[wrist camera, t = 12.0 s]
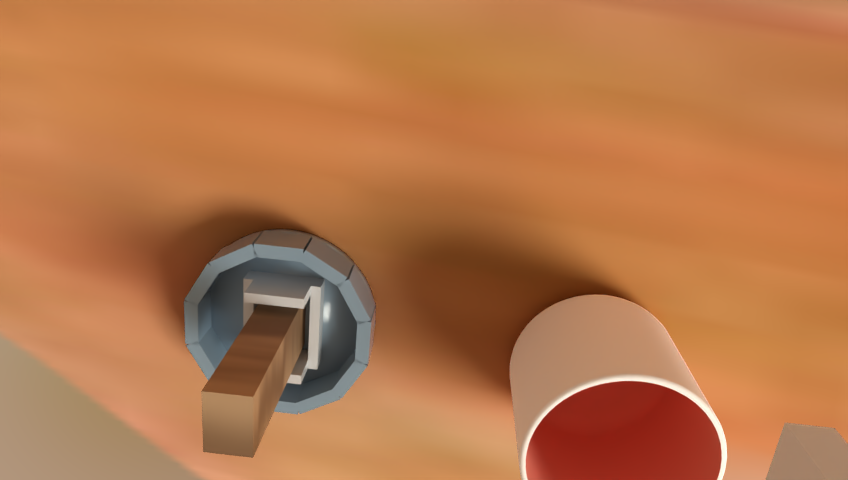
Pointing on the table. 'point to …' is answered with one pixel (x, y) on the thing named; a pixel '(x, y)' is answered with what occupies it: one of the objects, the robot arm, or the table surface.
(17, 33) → the table surface
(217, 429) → the wooden rectangular block
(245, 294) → the blue bowl
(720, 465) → the cup
